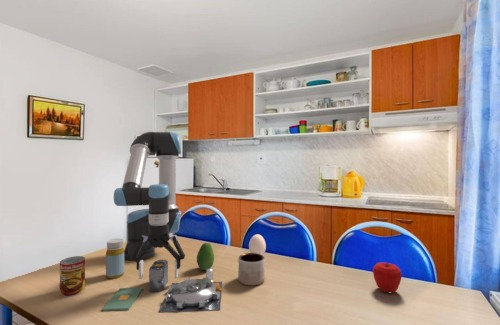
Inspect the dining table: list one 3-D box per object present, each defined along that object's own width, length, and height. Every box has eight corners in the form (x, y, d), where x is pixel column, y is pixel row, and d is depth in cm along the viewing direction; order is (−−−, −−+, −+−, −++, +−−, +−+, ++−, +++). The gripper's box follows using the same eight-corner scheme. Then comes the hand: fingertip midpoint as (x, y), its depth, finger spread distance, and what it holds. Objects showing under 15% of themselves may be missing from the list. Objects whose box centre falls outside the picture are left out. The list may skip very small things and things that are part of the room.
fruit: (217, 267, 122) (217, 241, 122) (207, 274, 115) (207, 246, 115) (203, 264, 125) (203, 239, 125) (193, 271, 118) (193, 244, 118)
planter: (232, 280, 109) (232, 257, 109) (250, 272, 117) (250, 250, 117) (252, 289, 102) (252, 264, 102) (269, 280, 110) (270, 257, 110)
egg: (255, 252, 142) (255, 231, 142) (268, 256, 137) (269, 234, 137) (245, 257, 135) (245, 235, 135) (259, 261, 130) (259, 238, 130)
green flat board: (119, 289, 101) (119, 288, 101) (142, 289, 102) (142, 287, 102) (102, 310, 87) (102, 308, 87) (128, 310, 88) (128, 307, 88)
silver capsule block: (155, 278, 110) (155, 259, 110) (169, 278, 111) (169, 259, 111) (147, 292, 99) (147, 271, 99) (162, 292, 99) (162, 270, 99)
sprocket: (210, 278, 110) (210, 258, 110) (229, 300, 93) (229, 277, 93) (161, 288, 101) (161, 267, 101) (172, 315, 84) (172, 290, 84)
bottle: (116, 279, 109) (116, 243, 109) (102, 278, 111) (102, 242, 111) (127, 272, 116) (127, 238, 116) (113, 271, 118) (113, 237, 117)
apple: (398, 287, 104) (399, 259, 104) (404, 299, 95) (404, 269, 95) (371, 283, 107) (371, 256, 107) (373, 294, 98) (374, 265, 98)
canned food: (58, 298, 94) (57, 265, 94) (61, 289, 101) (61, 258, 101) (84, 293, 98) (83, 261, 98) (85, 284, 105) (85, 254, 105)
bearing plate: (172, 283, 106) (172, 282, 106) (222, 282, 108) (222, 280, 108) (158, 312, 86) (158, 310, 86) (220, 310, 88) (220, 308, 88)
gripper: (122, 226, 100) (122, 282, 100) (189, 225, 102) (189, 280, 102) (129, 221, 107) (130, 274, 108) (192, 221, 109) (192, 272, 109)
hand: (158, 277), depth 105 cm, fingers open, 13 cm apart
